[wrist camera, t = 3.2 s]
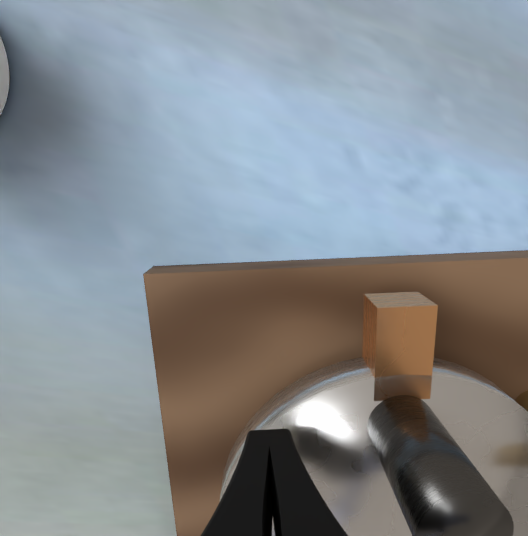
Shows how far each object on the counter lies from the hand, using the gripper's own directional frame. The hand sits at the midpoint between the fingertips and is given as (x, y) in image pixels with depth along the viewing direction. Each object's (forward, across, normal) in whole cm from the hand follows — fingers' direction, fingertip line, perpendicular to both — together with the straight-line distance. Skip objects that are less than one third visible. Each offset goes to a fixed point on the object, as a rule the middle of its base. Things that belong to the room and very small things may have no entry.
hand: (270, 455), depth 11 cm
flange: (+3, -5, +4) cm, 7 cm away
